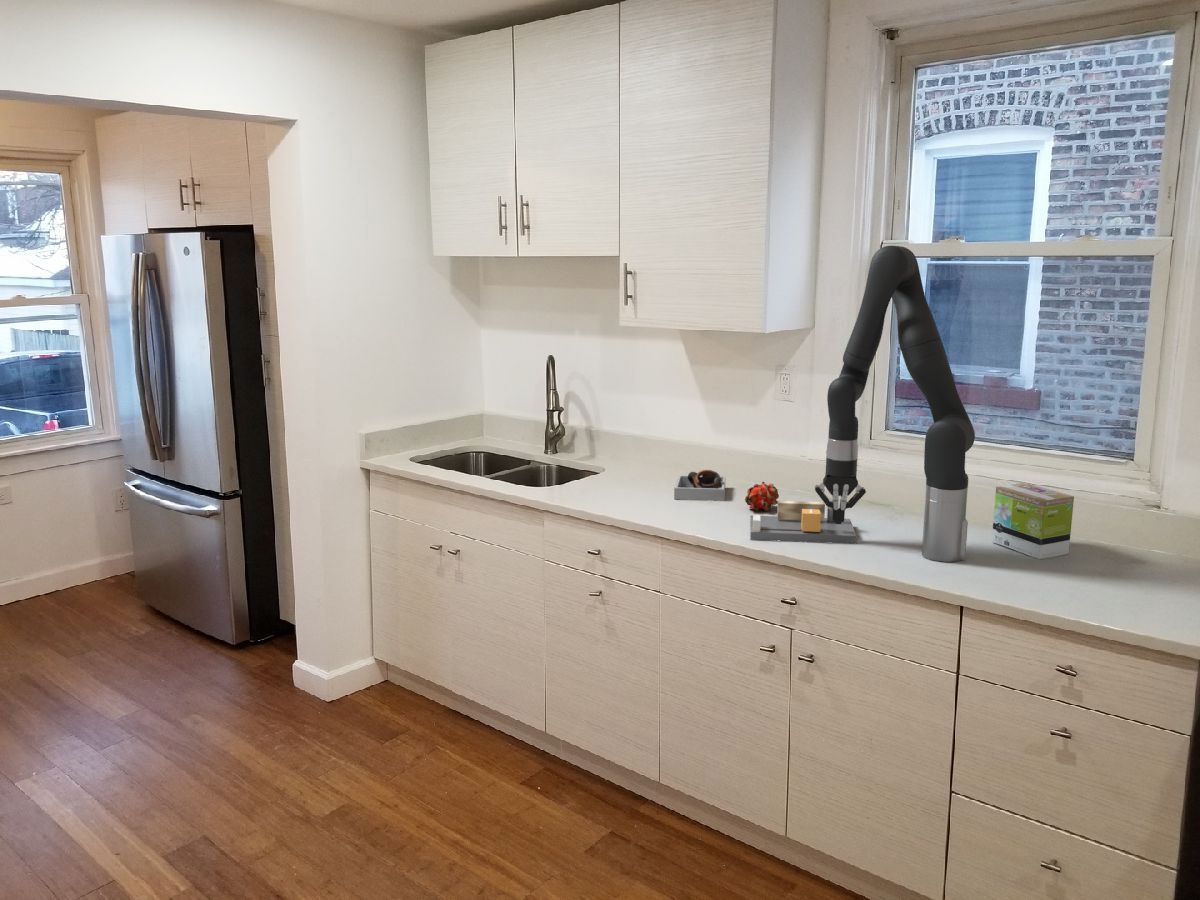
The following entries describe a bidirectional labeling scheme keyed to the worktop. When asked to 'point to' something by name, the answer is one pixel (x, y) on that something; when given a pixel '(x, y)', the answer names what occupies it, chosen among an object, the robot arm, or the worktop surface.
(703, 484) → the pottery mug
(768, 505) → the dragon fruit
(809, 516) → the fader knob
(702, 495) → the tray
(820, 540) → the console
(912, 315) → the robot arm
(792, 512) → the gate arm
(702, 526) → the worktop surface
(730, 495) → the worktop surface
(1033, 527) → the tea box
